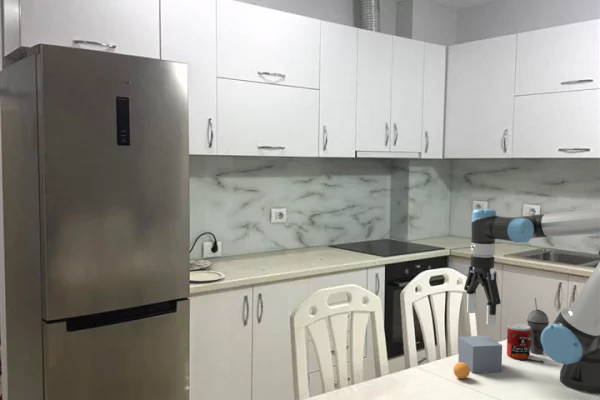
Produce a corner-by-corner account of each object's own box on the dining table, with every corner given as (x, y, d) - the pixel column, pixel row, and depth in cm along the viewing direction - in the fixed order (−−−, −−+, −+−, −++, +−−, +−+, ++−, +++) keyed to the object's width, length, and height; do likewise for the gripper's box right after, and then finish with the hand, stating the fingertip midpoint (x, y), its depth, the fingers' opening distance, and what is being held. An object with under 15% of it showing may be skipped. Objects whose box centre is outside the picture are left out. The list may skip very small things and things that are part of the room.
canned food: (511, 360, 190) (512, 329, 189) (503, 352, 198) (504, 322, 197) (533, 360, 189) (534, 329, 189) (524, 352, 197) (525, 322, 197)
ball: (467, 375, 175) (468, 360, 175) (471, 381, 170) (471, 365, 170) (451, 374, 176) (452, 359, 175) (454, 380, 171) (455, 365, 171)
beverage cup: (550, 356, 193) (552, 301, 192) (528, 354, 195) (530, 299, 193) (545, 349, 200) (547, 296, 199) (524, 348, 202) (525, 295, 201)
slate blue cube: (486, 360, 189) (486, 335, 188) (501, 371, 179) (502, 345, 178) (458, 361, 187) (459, 336, 187) (472, 373, 177) (473, 346, 177)
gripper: (455, 249, 192) (453, 308, 194) (491, 262, 168) (488, 329, 169) (475, 249, 194) (473, 308, 195) (513, 261, 169) (511, 328, 170)
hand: (480, 318), depth 182 cm, fingers open, 13 cm apart
